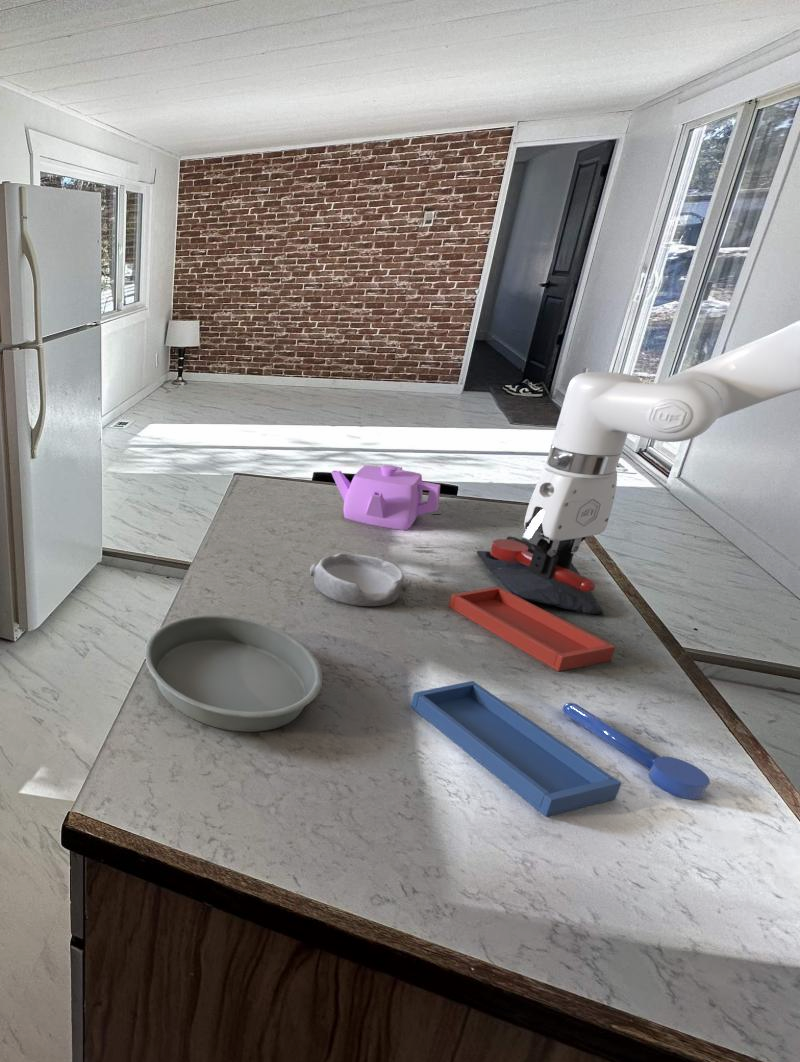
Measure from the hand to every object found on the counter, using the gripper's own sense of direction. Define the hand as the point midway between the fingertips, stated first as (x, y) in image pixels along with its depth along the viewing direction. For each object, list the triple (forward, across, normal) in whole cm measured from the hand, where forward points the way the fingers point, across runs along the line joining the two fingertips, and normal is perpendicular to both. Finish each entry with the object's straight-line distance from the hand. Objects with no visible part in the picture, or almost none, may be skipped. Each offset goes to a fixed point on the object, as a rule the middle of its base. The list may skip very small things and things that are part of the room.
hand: (547, 573), depth 98 cm
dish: (+12, -15, +20) cm, 28 cm away
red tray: (+11, +1, +1) cm, 12 cm away
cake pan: (+12, -51, +2) cm, 53 cm away
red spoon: (0, 0, +1) cm, 1 cm away
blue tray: (+11, -26, -19) cm, 34 cm away
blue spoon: (+11, -12, -23) cm, 28 cm away
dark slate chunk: (+12, +17, +13) cm, 24 cm away
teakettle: (+12, +13, +47) cm, 50 cm away
